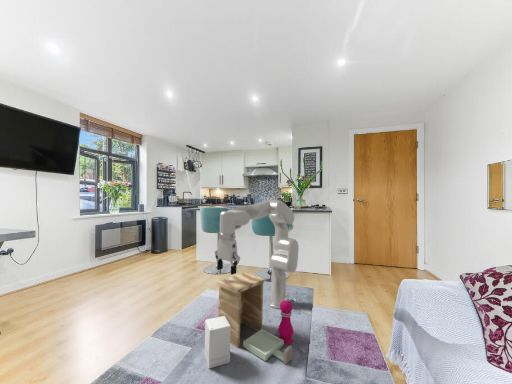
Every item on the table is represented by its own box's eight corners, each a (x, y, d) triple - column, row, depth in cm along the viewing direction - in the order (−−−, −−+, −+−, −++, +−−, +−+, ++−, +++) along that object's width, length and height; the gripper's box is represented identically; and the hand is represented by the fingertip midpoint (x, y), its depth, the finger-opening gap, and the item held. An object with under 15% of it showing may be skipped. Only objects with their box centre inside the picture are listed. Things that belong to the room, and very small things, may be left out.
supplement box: (230, 363, 92) (231, 326, 92) (208, 369, 88) (209, 330, 88) (224, 349, 100) (225, 315, 100) (204, 354, 96) (204, 319, 97)
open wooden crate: (244, 320, 124) (245, 272, 124) (263, 330, 114) (264, 279, 115) (216, 335, 109) (217, 281, 110) (236, 349, 100) (237, 290, 101)
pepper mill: (282, 346, 102) (283, 302, 103) (275, 337, 109) (276, 295, 109) (296, 343, 105) (297, 299, 106) (288, 334, 112) (288, 293, 112)
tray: (261, 333, 111) (262, 323, 111) (297, 353, 98) (297, 342, 98) (243, 346, 101) (243, 335, 101) (279, 370, 88) (279, 357, 88)
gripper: (245, 237, 108) (244, 273, 108) (221, 233, 119) (220, 266, 119) (234, 240, 102) (233, 278, 102) (210, 235, 113) (209, 269, 113)
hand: (226, 271), depth 110 cm, fingers open, 9 cm apart
